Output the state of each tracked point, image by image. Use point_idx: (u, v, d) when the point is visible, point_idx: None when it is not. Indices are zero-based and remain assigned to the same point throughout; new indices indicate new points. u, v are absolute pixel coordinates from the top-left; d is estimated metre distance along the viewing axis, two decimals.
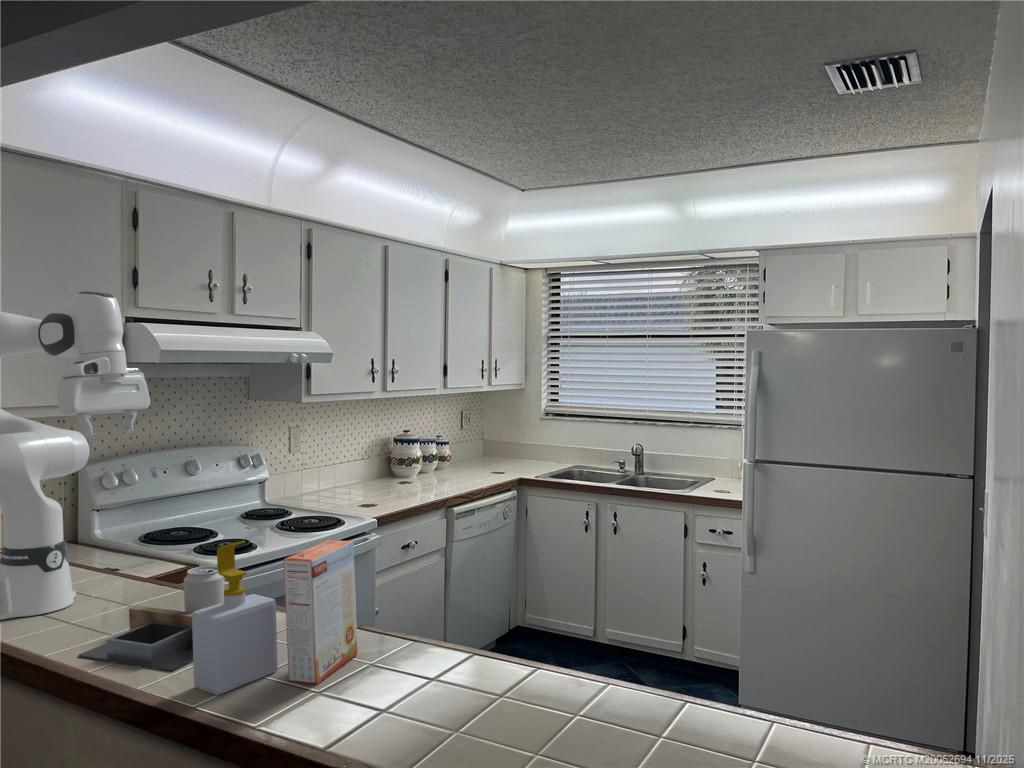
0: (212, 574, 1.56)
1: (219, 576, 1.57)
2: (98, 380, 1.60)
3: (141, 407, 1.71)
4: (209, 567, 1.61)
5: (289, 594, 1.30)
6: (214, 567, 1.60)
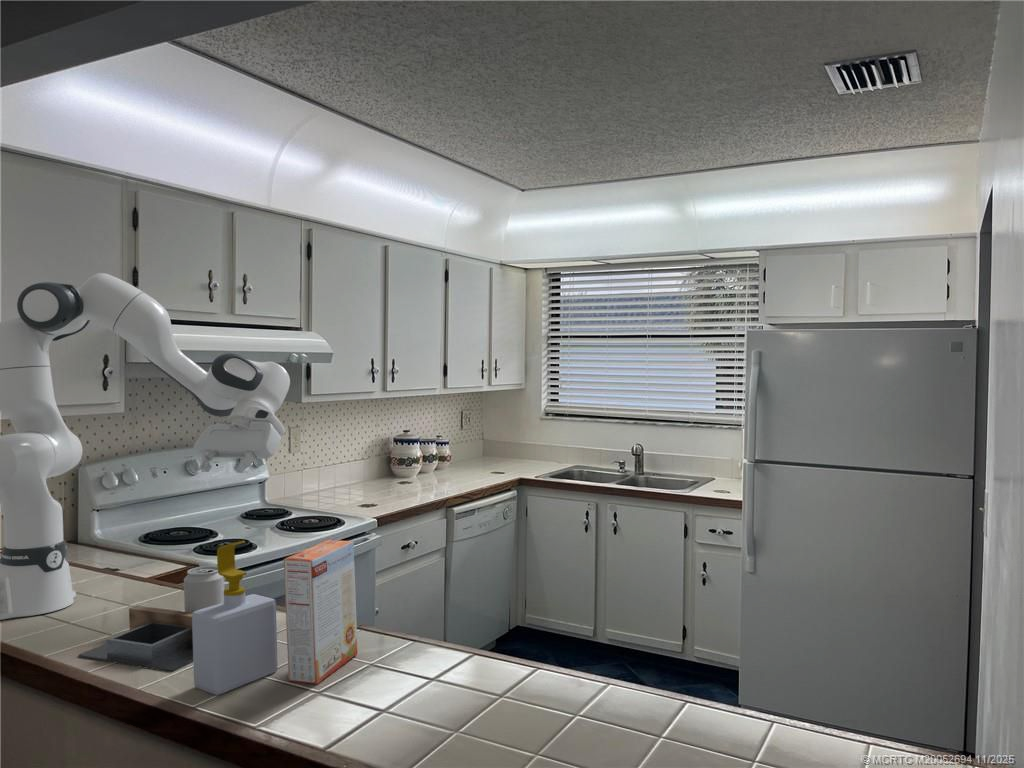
0: (212, 574, 1.56)
1: (219, 576, 1.57)
2: None
3: None
4: (209, 567, 1.61)
5: (289, 594, 1.30)
6: (214, 567, 1.60)
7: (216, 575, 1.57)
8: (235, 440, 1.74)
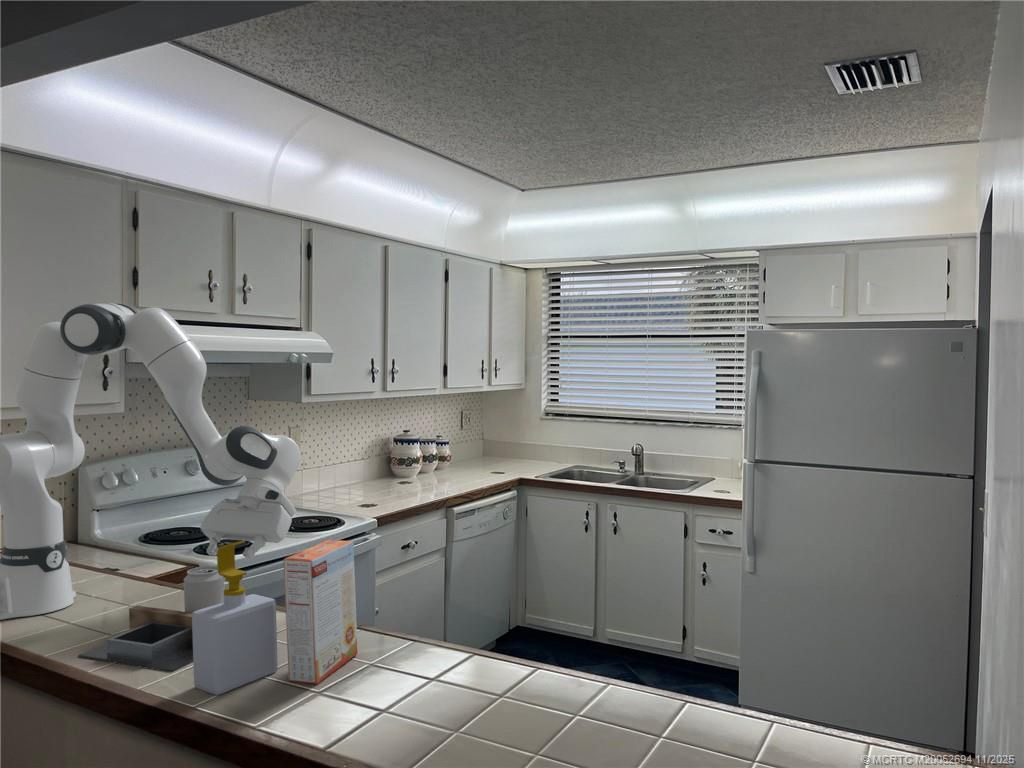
0: (212, 574, 1.56)
1: (219, 576, 1.57)
2: None
3: None
4: (209, 567, 1.61)
5: (289, 594, 1.30)
6: (214, 567, 1.60)
7: (216, 575, 1.57)
8: (244, 523, 1.68)
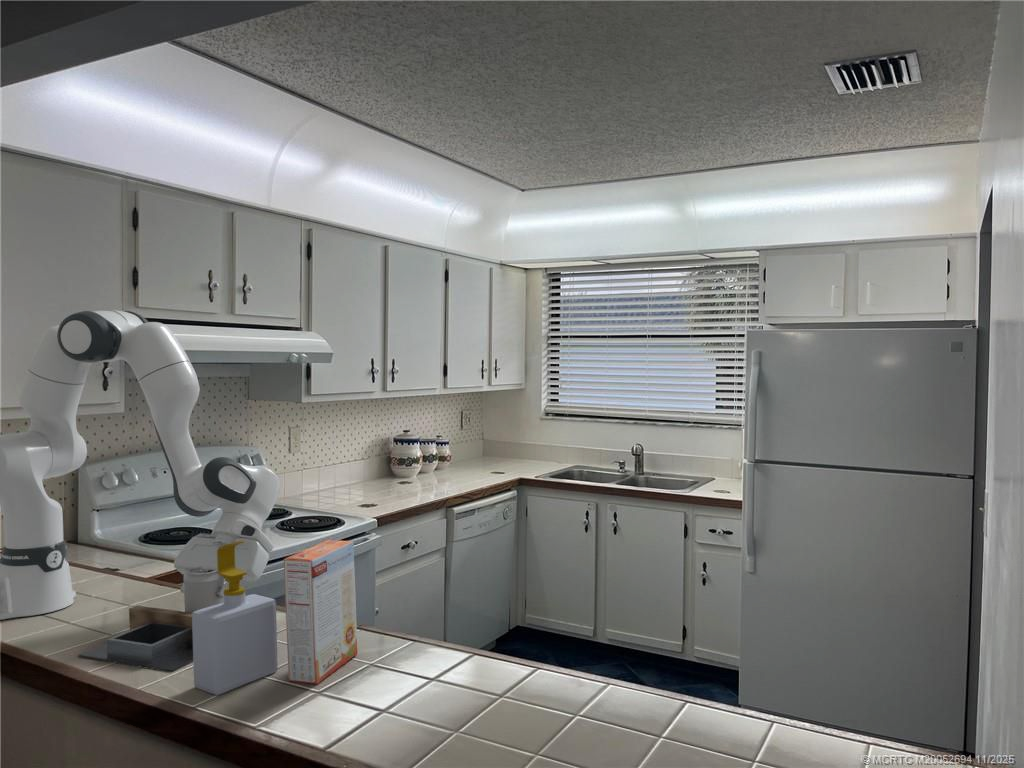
0: (212, 574, 1.56)
1: (219, 576, 1.57)
2: None
3: None
4: None
5: (289, 594, 1.30)
6: None
7: (216, 575, 1.57)
8: None
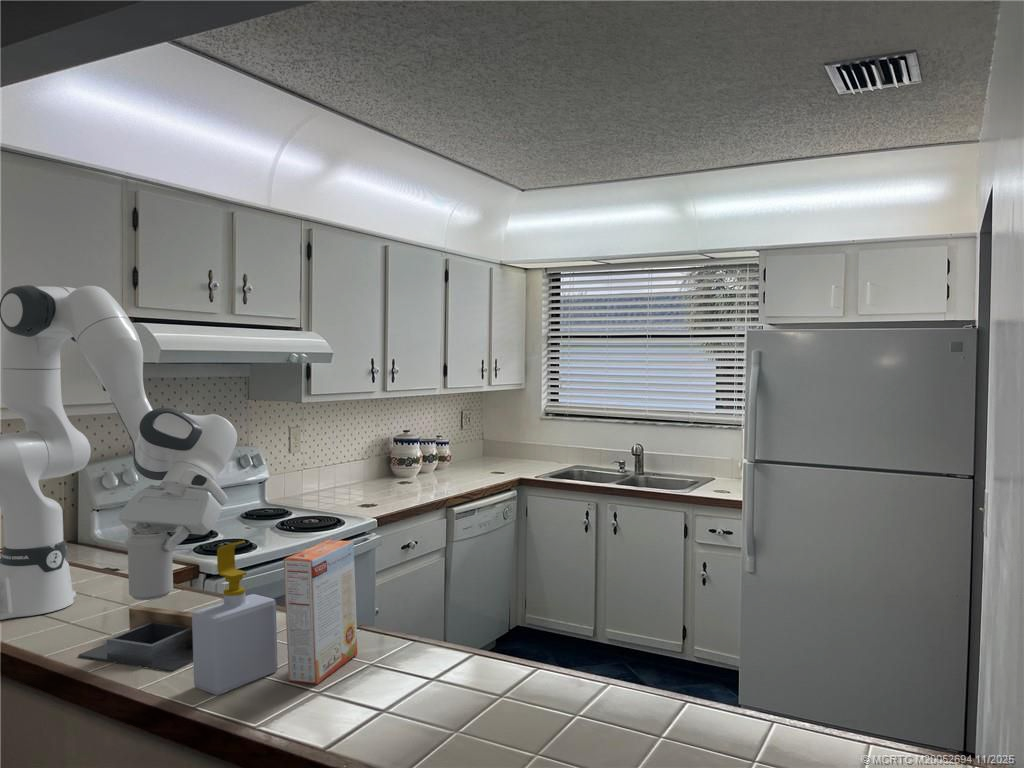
0: (158, 536, 1.44)
1: None
2: None
3: None
4: (156, 530, 1.48)
5: (289, 594, 1.30)
6: (162, 530, 1.48)
7: (163, 537, 1.44)
8: (167, 512, 1.48)
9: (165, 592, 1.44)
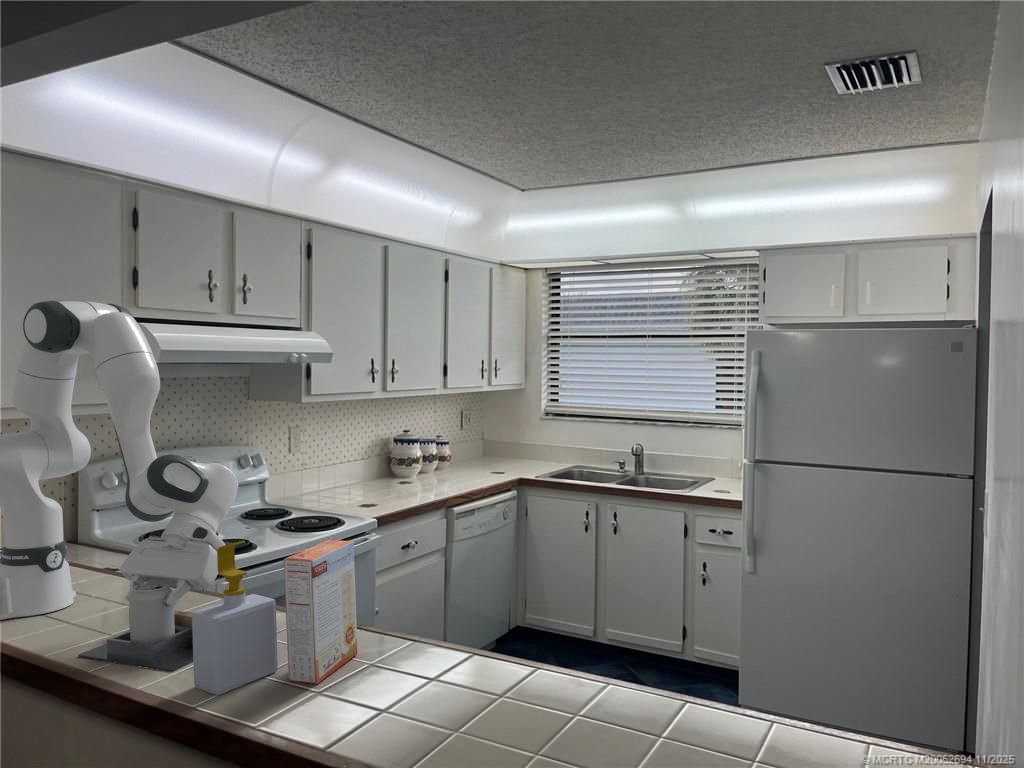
0: (160, 591, 1.44)
1: (168, 593, 1.45)
2: None
3: None
4: (157, 583, 1.48)
5: (289, 594, 1.30)
6: (163, 583, 1.48)
7: (165, 592, 1.44)
8: (168, 565, 1.48)
9: None
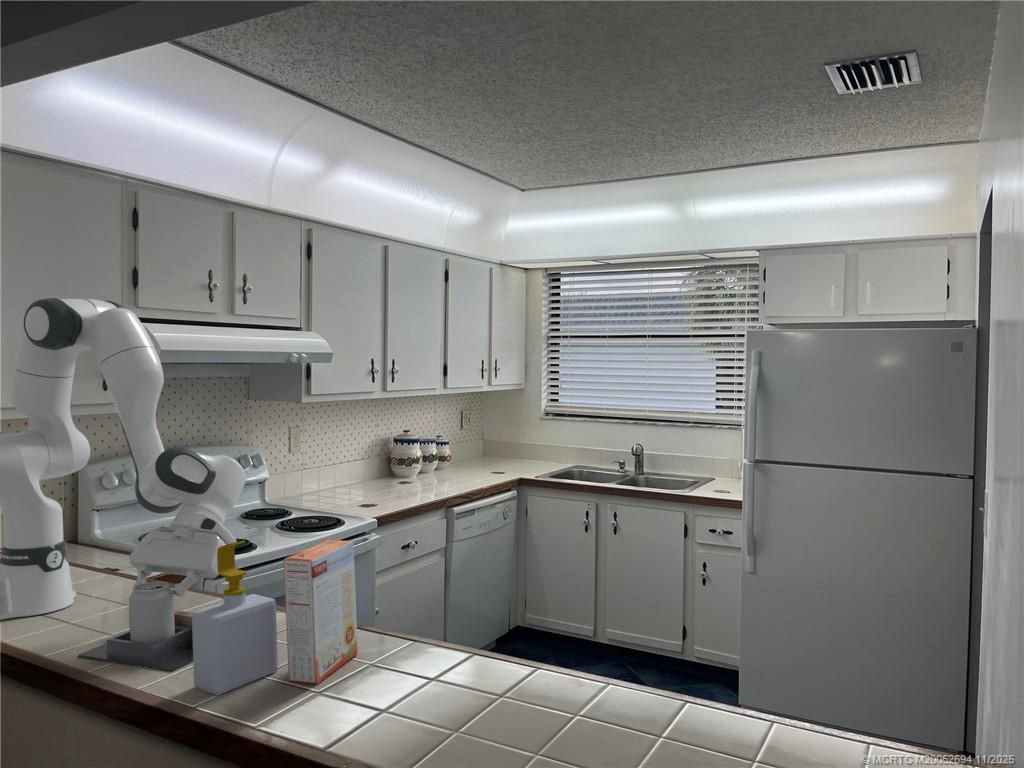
0: (161, 591, 1.44)
1: (168, 593, 1.45)
2: None
3: None
4: (157, 583, 1.48)
5: (289, 594, 1.30)
6: (163, 583, 1.48)
7: (165, 592, 1.44)
8: (176, 555, 1.50)
9: None
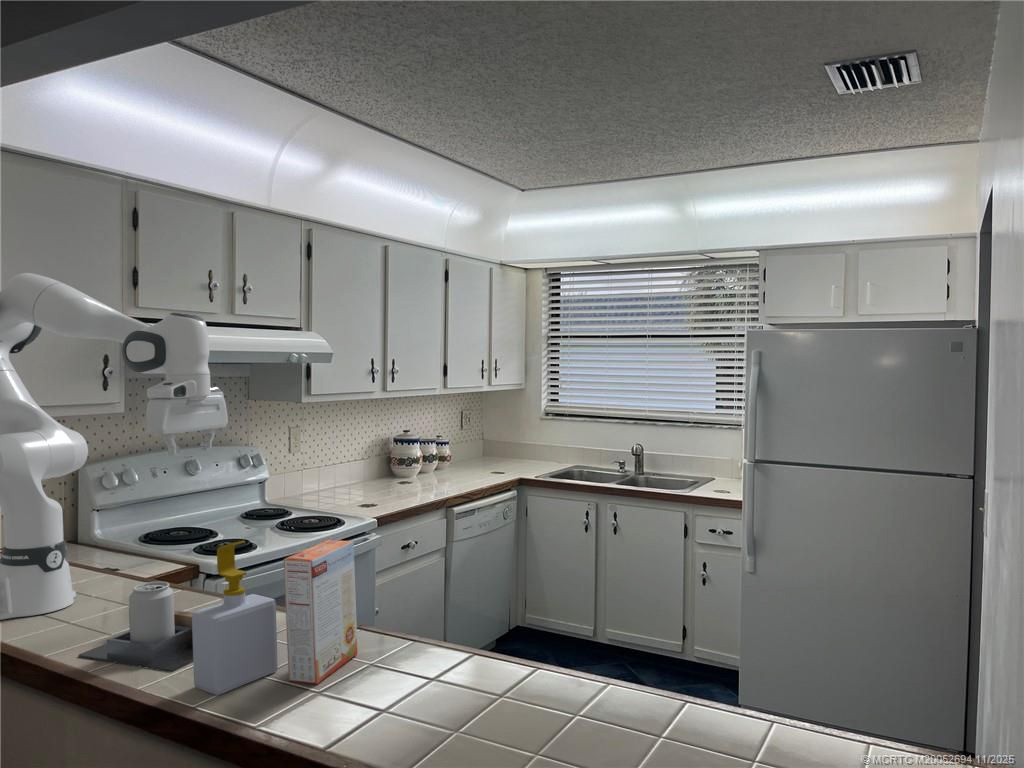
0: (161, 590, 1.44)
1: (168, 593, 1.45)
2: (185, 402, 1.65)
3: (220, 426, 1.76)
4: (157, 583, 1.48)
5: (289, 594, 1.30)
6: (163, 583, 1.48)
7: (165, 592, 1.44)
8: None
9: None
